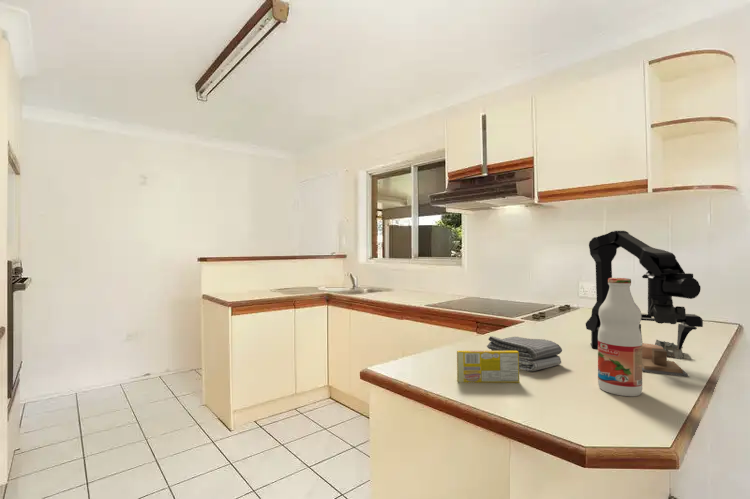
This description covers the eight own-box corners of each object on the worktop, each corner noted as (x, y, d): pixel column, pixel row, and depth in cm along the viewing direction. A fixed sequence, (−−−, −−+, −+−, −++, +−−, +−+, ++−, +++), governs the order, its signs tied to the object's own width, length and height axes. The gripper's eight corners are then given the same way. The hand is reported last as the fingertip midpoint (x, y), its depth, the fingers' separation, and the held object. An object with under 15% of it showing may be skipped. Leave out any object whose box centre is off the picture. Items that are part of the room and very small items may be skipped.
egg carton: (682, 359, 125) (682, 347, 125) (654, 355, 129) (654, 343, 129) (682, 352, 133) (682, 340, 133) (655, 349, 138) (655, 337, 138)
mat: (640, 371, 111) (640, 369, 111) (633, 362, 121) (633, 360, 121) (688, 376, 107) (688, 374, 107) (677, 366, 116) (677, 364, 116)
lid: (644, 369, 112) (644, 351, 112) (637, 361, 120) (637, 345, 120) (682, 373, 108) (682, 355, 108) (673, 364, 116) (673, 348, 116)
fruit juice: (652, 396, 92) (652, 279, 92) (615, 398, 91) (615, 279, 92) (623, 383, 102) (623, 277, 102) (589, 384, 101) (589, 277, 101)
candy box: (517, 380, 104) (517, 350, 104) (519, 383, 102) (519, 352, 102) (456, 380, 104) (456, 349, 104) (458, 382, 102) (458, 351, 102)
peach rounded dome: (635, 360, 123) (635, 347, 123) (630, 354, 130) (630, 342, 130) (666, 363, 120) (666, 350, 120) (659, 356, 127) (659, 344, 127)
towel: (535, 375, 109) (535, 347, 109) (482, 360, 124) (482, 335, 124) (563, 366, 118) (563, 340, 118) (511, 353, 133) (511, 330, 133)
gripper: (627, 296, 110) (627, 350, 110) (710, 299, 102) (710, 358, 102) (620, 292, 120) (620, 342, 120) (695, 295, 113) (695, 348, 113)
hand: (659, 347), depth 114 cm, fingers open, 9 cm apart
